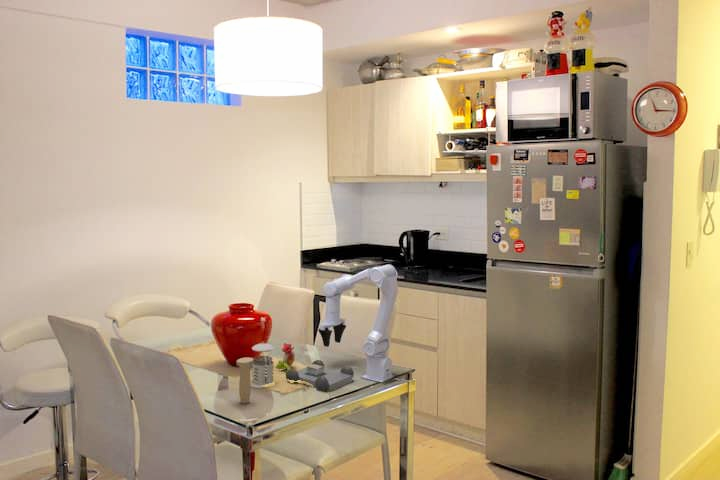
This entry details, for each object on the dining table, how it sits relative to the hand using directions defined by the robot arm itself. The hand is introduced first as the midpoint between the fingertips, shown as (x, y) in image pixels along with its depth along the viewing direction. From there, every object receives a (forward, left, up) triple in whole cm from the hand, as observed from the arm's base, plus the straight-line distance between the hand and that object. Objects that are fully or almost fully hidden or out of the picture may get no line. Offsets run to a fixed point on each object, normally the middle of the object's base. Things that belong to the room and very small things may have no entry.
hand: (332, 344), depth 285 cm
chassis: (-8, +17, -9) cm, 21 cm away
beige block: (-5, +17, -9) cm, 20 cm away
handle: (-2, +51, -10) cm, 52 cm away
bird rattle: (+11, +14, -10) cm, 21 cm away
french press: (+6, +33, -10) cm, 35 cm away
